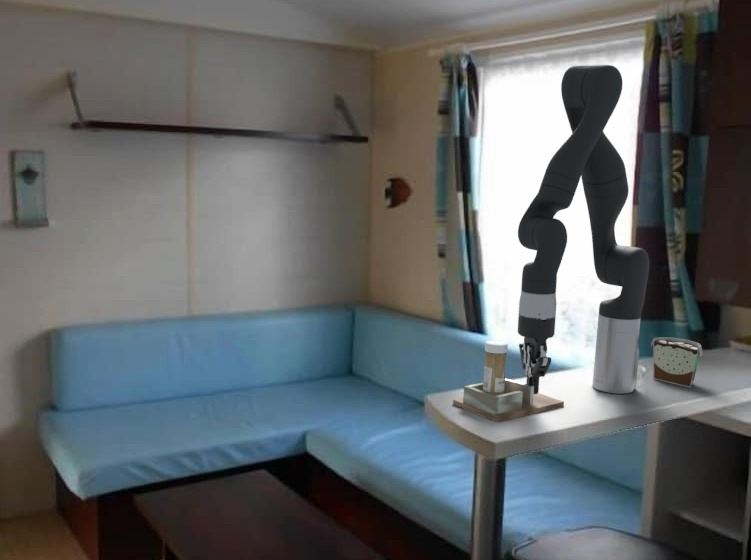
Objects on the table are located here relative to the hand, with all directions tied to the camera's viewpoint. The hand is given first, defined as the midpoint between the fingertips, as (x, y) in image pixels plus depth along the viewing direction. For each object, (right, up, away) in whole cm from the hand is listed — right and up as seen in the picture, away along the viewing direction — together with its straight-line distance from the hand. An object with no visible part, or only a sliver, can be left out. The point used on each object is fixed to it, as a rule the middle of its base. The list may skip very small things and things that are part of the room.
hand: (532, 393), depth 166 cm
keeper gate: (-5, -1, +1) cm, 5 cm away
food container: (+40, -1, +26) cm, 48 cm away
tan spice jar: (-9, -2, -3) cm, 10 cm away
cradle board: (-5, -3, +1) cm, 6 cm away
